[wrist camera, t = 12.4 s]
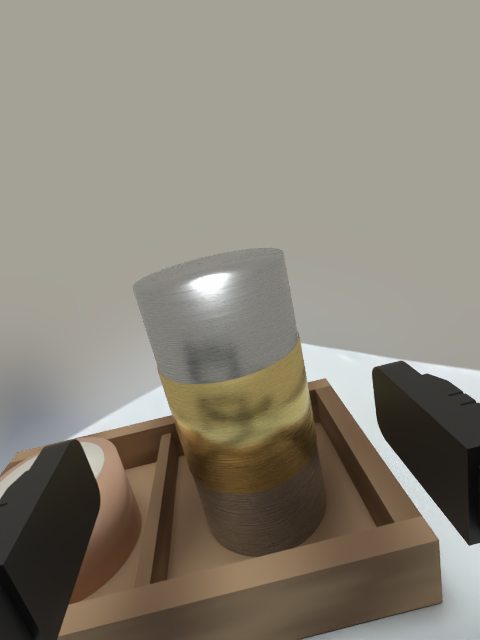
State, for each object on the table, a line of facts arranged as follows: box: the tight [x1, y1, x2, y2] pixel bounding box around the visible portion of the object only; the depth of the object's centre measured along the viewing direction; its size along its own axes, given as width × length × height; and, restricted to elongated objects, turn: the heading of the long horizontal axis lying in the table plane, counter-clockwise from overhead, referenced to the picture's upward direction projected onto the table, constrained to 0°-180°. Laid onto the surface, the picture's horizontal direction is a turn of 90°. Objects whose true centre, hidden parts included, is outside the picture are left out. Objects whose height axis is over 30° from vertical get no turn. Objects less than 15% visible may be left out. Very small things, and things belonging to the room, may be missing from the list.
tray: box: [0, 378, 442, 640], centre depth 18 cm, size 20×12×3 cm, turn 96°
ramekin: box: [0, 437, 142, 605], centre depth 18 cm, size 6×6×4 cm
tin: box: [133, 248, 326, 557], centre depth 17 cm, size 6×6×12 cm
